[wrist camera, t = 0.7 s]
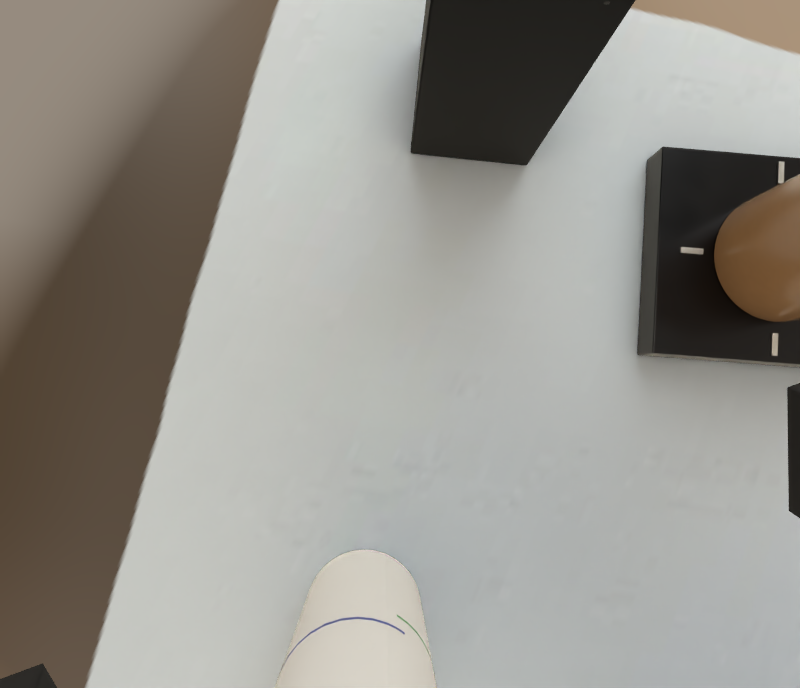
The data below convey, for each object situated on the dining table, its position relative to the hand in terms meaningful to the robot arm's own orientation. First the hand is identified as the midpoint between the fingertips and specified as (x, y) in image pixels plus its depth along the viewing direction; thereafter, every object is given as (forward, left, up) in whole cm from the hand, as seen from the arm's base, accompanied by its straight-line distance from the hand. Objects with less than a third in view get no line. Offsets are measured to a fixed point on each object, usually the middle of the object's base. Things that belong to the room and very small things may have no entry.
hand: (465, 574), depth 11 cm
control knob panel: (-18, -18, -31) cm, 41 cm away
